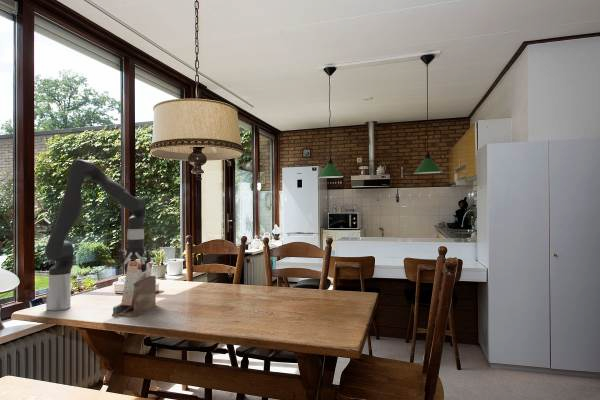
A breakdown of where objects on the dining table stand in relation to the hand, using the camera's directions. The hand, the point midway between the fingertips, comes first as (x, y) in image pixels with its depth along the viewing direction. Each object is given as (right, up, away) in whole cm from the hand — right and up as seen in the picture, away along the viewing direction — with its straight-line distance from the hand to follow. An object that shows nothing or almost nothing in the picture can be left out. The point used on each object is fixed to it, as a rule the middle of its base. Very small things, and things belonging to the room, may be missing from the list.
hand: (135, 271), depth 181 cm
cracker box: (-1, -16, 0) cm, 16 cm away
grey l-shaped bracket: (0, -19, 0) cm, 19 cm away
